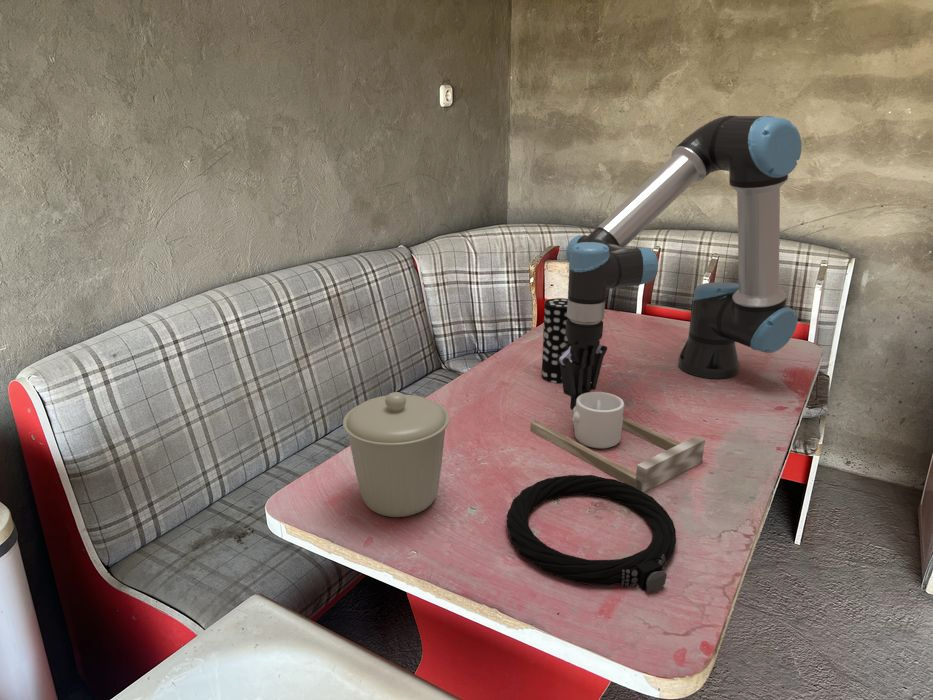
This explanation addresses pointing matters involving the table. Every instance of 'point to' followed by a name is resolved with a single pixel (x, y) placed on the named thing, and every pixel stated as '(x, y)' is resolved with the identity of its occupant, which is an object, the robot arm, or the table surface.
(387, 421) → the canister
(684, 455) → the guide channel
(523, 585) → the table surface
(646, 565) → the cable lock
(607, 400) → the mug
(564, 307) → the spotted tube
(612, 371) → the table surface
